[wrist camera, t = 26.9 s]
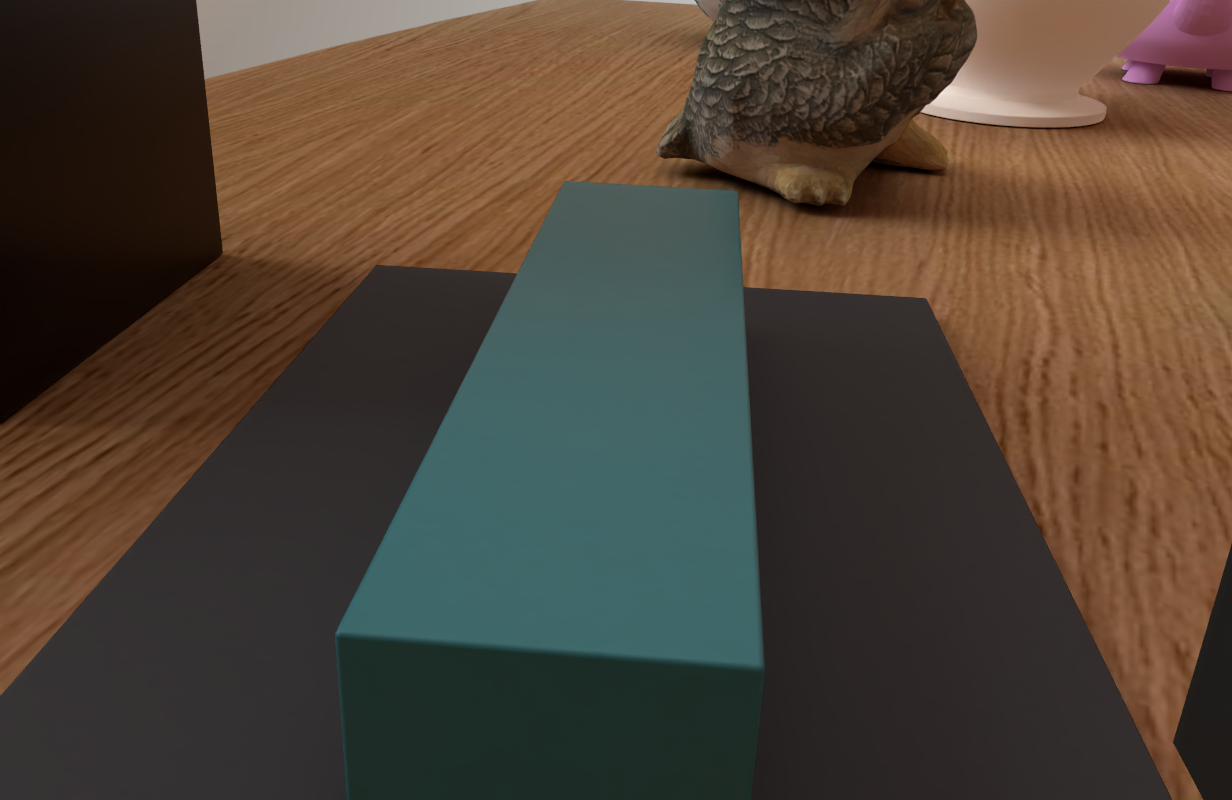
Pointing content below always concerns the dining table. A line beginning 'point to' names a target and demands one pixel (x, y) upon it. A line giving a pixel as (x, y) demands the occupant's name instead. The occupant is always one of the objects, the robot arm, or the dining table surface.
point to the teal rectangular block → (577, 534)
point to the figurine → (820, 91)
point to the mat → (788, 564)
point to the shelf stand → (96, 176)
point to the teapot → (1184, 43)
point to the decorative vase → (1040, 60)
